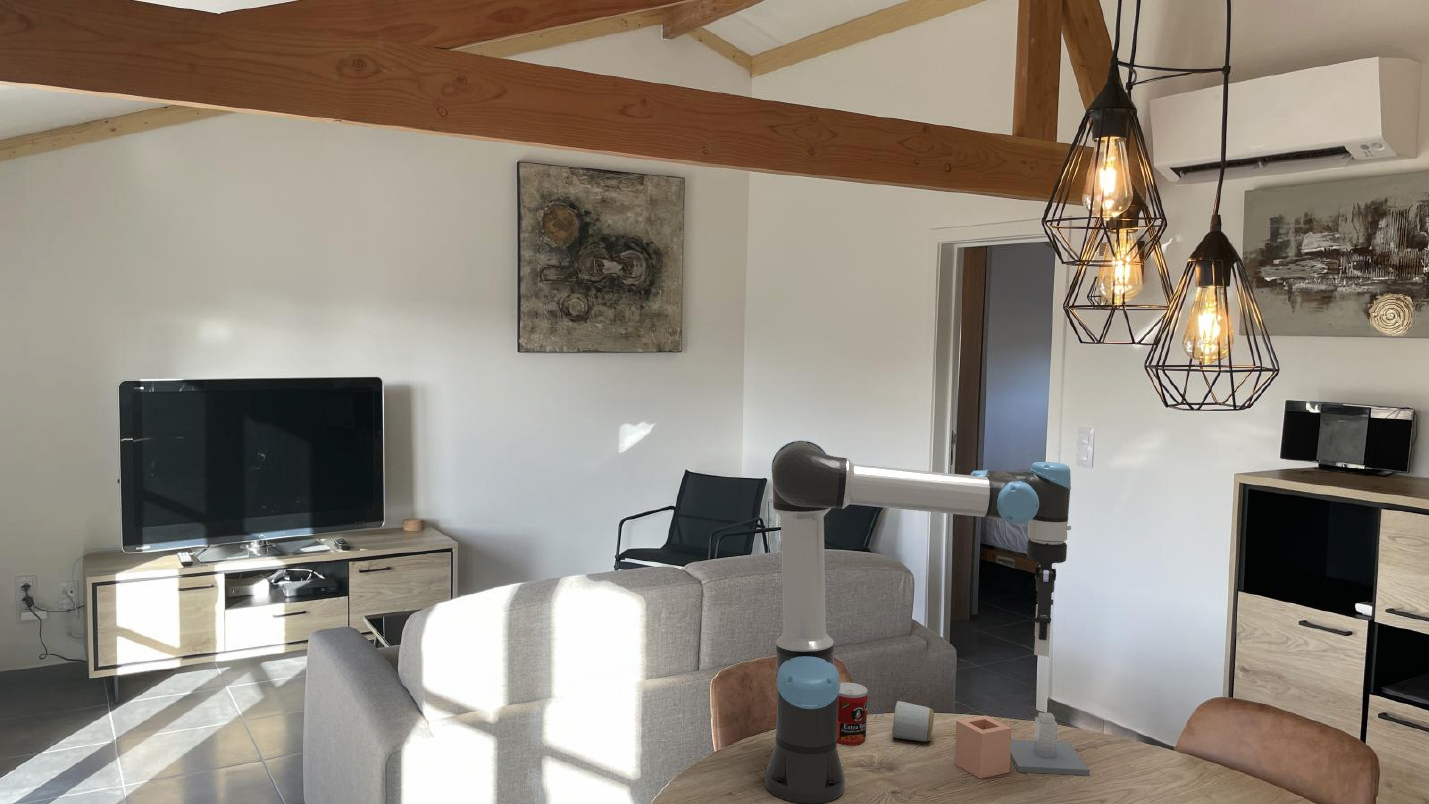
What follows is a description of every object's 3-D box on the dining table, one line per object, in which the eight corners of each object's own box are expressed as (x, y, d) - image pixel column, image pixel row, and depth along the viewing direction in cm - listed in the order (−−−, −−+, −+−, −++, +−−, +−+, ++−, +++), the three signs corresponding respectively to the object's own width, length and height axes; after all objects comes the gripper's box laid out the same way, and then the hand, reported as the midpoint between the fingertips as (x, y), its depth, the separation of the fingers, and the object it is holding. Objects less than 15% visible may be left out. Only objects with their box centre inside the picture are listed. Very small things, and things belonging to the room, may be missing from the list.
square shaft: (1038, 756, 211) (1040, 717, 211) (1033, 749, 215) (1035, 711, 214) (1056, 757, 211) (1058, 718, 210) (1051, 750, 215) (1053, 712, 214)
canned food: (840, 747, 216) (842, 696, 215) (823, 733, 223) (825, 684, 223) (872, 743, 219) (874, 692, 218) (854, 729, 226) (856, 680, 226)
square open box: (979, 778, 203) (982, 733, 202) (954, 763, 209) (956, 720, 209) (1009, 772, 206) (1011, 728, 205) (983, 758, 213) (985, 715, 212)
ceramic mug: (930, 747, 217) (932, 712, 217) (891, 742, 220) (893, 707, 219) (934, 730, 228) (935, 696, 227) (896, 725, 230) (898, 691, 229)
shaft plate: (1018, 771, 206) (1018, 766, 206) (1002, 744, 220) (1002, 739, 220) (1089, 775, 206) (1089, 769, 206) (1069, 747, 220) (1069, 742, 219)
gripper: (1068, 554, 191) (1062, 666, 193) (1065, 531, 215) (1060, 631, 217) (1026, 550, 194) (1020, 661, 195) (1028, 528, 217) (1023, 627, 219)
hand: (1041, 645), depth 206 cm, fingers open, 13 cm apart
